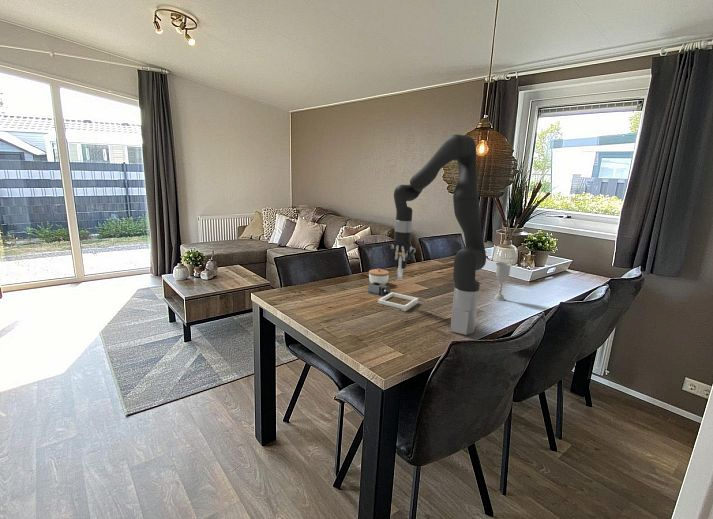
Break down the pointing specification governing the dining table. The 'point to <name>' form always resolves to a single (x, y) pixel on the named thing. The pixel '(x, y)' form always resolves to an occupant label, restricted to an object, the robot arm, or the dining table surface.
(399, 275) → the pin
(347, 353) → the dining table surface
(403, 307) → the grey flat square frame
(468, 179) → the robot arm
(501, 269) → the chalice
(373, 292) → the block
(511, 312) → the dining table surface
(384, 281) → the lidded jar
